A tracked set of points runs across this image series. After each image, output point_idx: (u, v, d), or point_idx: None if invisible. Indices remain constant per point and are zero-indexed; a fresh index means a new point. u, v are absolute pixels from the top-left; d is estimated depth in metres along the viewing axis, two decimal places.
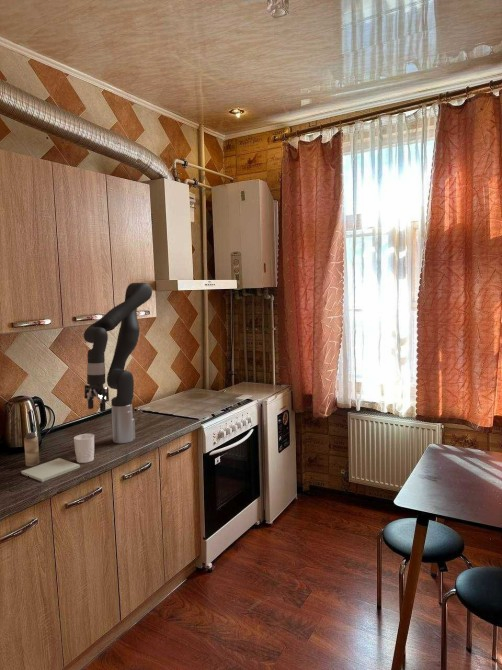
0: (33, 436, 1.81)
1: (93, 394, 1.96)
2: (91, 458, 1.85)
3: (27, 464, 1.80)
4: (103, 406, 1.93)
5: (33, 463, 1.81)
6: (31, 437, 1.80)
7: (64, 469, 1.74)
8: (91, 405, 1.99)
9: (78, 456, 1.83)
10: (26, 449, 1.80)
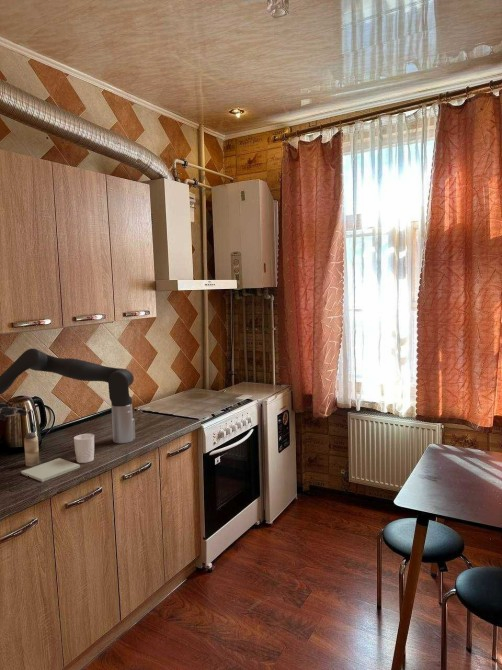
0: (33, 436, 1.81)
1: None
2: (91, 458, 1.85)
3: (27, 464, 1.80)
4: None
5: (33, 463, 1.81)
6: (31, 437, 1.80)
7: (64, 469, 1.74)
8: (23, 412, 1.90)
9: (78, 456, 1.83)
10: (26, 449, 1.80)
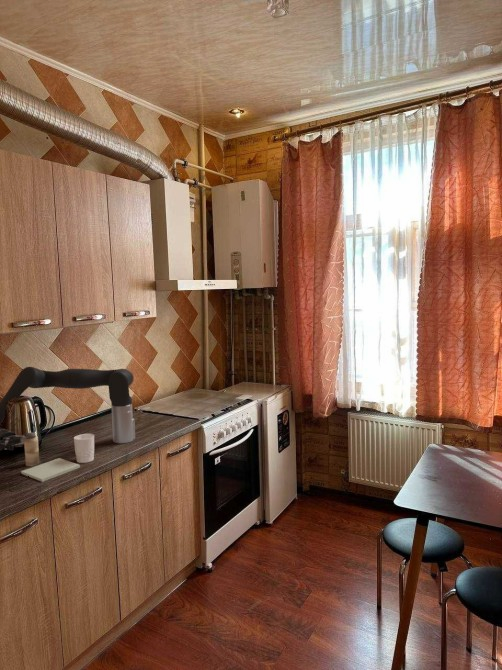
0: (33, 436, 1.81)
1: None
2: (91, 458, 1.85)
3: (27, 464, 1.80)
4: (7, 448, 1.83)
5: (33, 463, 1.81)
6: (31, 437, 1.80)
7: (64, 469, 1.74)
8: None
9: (78, 456, 1.83)
10: (26, 449, 1.80)
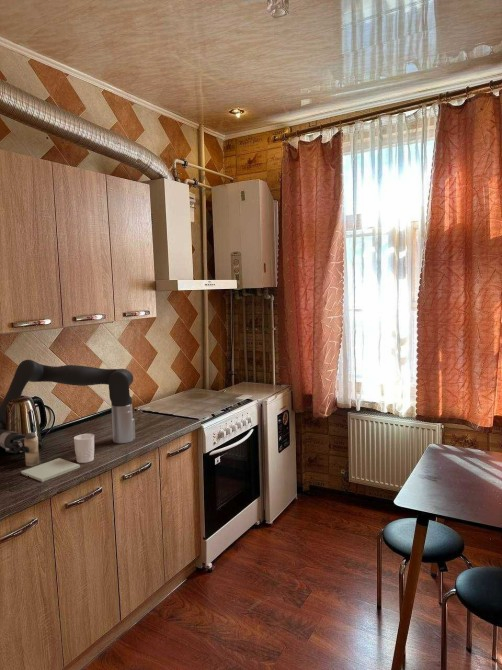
0: (33, 436, 1.81)
1: None
2: (91, 458, 1.85)
3: (27, 464, 1.80)
4: (23, 450, 1.79)
5: (33, 463, 1.81)
6: (31, 437, 1.80)
7: (64, 469, 1.74)
8: (39, 445, 1.83)
9: (78, 456, 1.83)
10: None
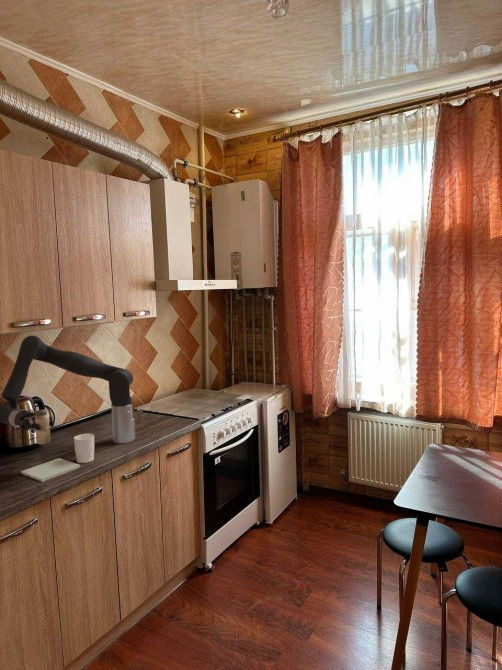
0: (44, 413, 1.75)
1: None
2: (91, 458, 1.85)
3: (38, 442, 1.75)
4: (33, 427, 1.73)
5: (44, 441, 1.75)
6: (42, 414, 1.74)
7: (64, 469, 1.74)
8: (50, 423, 1.77)
9: (78, 456, 1.83)
10: None
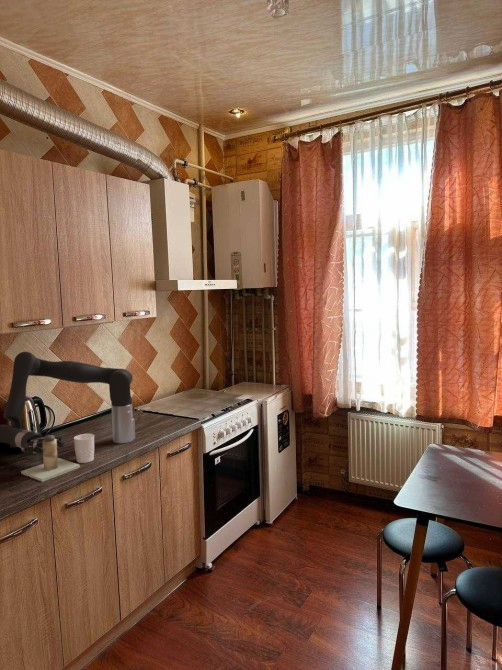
0: (52, 439, 1.74)
1: None
2: (91, 458, 1.85)
3: (45, 468, 1.73)
4: (36, 451, 1.71)
5: (52, 467, 1.73)
6: (50, 440, 1.73)
7: (64, 469, 1.74)
8: (59, 444, 1.78)
9: (78, 456, 1.83)
10: (45, 452, 1.73)
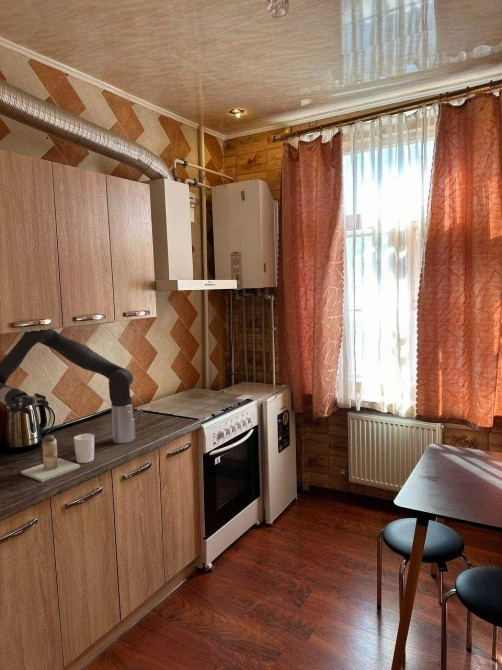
0: (52, 439, 1.73)
1: None
2: (91, 458, 1.85)
3: (45, 468, 1.73)
4: (22, 411, 1.77)
5: (52, 467, 1.73)
6: (50, 440, 1.73)
7: (64, 469, 1.74)
8: (44, 403, 1.84)
9: (78, 456, 1.83)
10: (45, 453, 1.73)
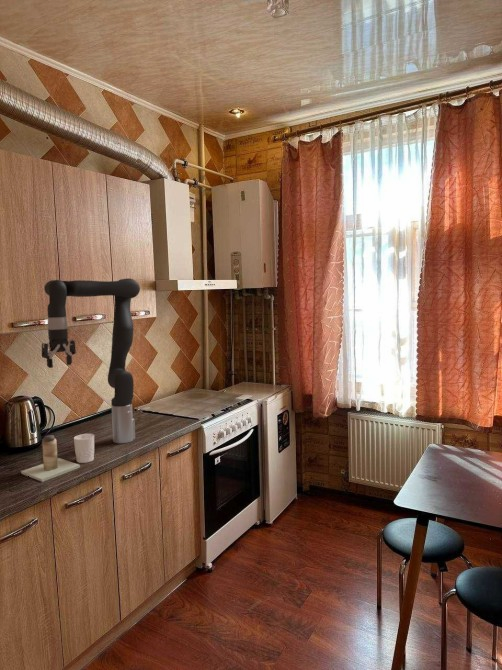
0: (52, 439, 1.74)
1: None
2: (91, 458, 1.85)
3: (46, 468, 1.73)
4: (47, 362, 1.86)
5: (52, 467, 1.73)
6: (50, 440, 1.73)
7: (64, 469, 1.74)
8: (68, 361, 1.93)
9: (78, 456, 1.83)
10: (45, 452, 1.73)
